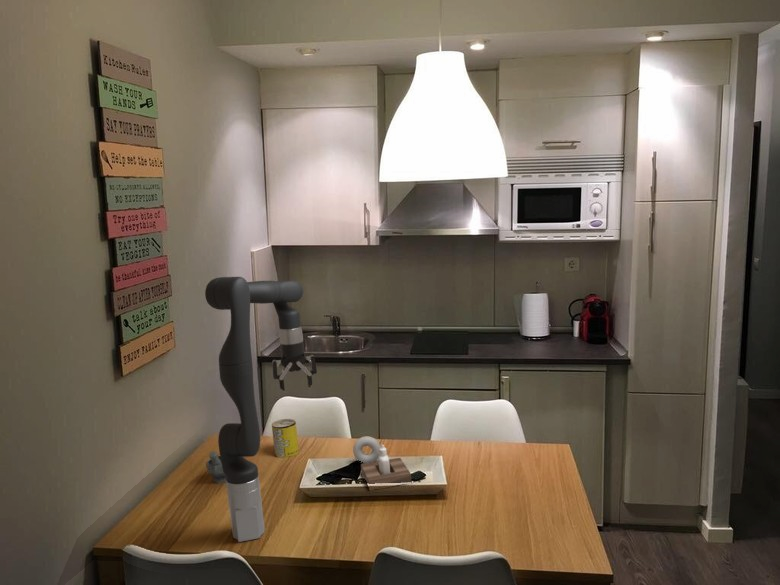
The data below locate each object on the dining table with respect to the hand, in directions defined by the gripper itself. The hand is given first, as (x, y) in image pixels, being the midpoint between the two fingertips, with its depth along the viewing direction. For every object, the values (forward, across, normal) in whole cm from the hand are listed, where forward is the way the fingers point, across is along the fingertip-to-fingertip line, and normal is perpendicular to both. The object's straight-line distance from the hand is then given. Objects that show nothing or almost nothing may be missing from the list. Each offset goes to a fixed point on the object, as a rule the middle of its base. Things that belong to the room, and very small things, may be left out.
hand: (296, 388), depth 223 cm
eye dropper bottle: (+33, +26, -8) cm, 43 cm away
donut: (+33, +23, +7) cm, 41 cm away
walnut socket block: (+33, +26, -8) cm, 43 cm away
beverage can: (+33, -4, +29) cm, 44 cm away
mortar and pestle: (+33, -28, +14) cm, 46 cm away
